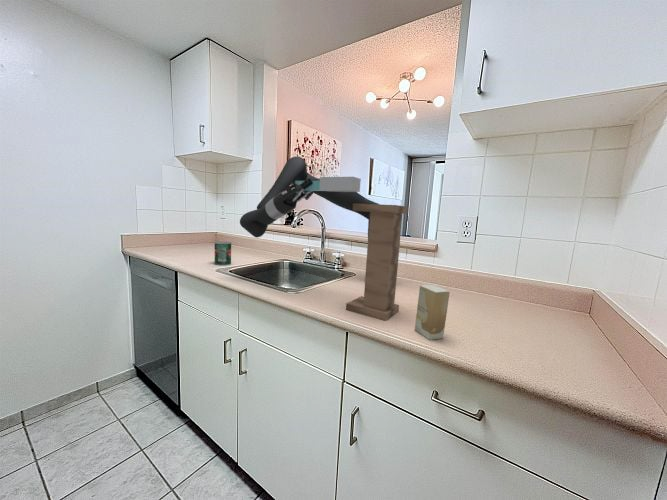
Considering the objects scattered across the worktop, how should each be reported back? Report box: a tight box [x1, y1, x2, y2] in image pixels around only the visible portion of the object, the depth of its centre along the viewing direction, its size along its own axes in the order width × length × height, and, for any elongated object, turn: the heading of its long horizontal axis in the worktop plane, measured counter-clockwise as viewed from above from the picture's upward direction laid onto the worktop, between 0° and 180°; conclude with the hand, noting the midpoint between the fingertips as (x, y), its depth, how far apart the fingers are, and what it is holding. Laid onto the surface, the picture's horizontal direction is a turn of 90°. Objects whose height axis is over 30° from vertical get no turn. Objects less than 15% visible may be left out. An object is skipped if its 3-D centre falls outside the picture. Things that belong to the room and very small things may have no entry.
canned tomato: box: [214, 241, 232, 266], centre depth 139 cm, size 8×8×11 cm
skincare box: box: [414, 284, 450, 341], centre depth 69 cm, size 6×4×12 cm
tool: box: [295, 176, 362, 193], centre depth 91 cm, size 23×5×4 cm, turn 57°
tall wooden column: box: [345, 203, 409, 322], centre depth 83 cm, size 10×13×32 cm
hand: (314, 181), depth 93 cm, fingers closed on tool, 3 cm apart
